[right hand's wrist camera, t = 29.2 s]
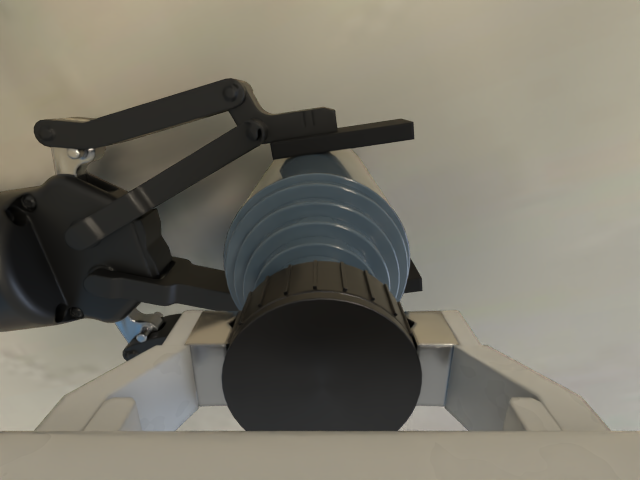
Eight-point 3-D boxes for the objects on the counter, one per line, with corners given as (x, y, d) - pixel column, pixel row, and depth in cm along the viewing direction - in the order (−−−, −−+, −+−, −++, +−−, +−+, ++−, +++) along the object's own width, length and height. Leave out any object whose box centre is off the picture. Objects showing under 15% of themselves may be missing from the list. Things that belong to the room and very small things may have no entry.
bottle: (283, 249, 27) (231, 483, 11) (251, 154, 25) (119, 268, 8) (379, 224, 27) (477, 432, 10) (355, 123, 24) (434, 183, 8)
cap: (365, 418, 11) (374, 479, 10) (217, 374, 11) (196, 430, 9) (435, 292, 10) (462, 336, 8) (266, 232, 9) (253, 266, 7)
